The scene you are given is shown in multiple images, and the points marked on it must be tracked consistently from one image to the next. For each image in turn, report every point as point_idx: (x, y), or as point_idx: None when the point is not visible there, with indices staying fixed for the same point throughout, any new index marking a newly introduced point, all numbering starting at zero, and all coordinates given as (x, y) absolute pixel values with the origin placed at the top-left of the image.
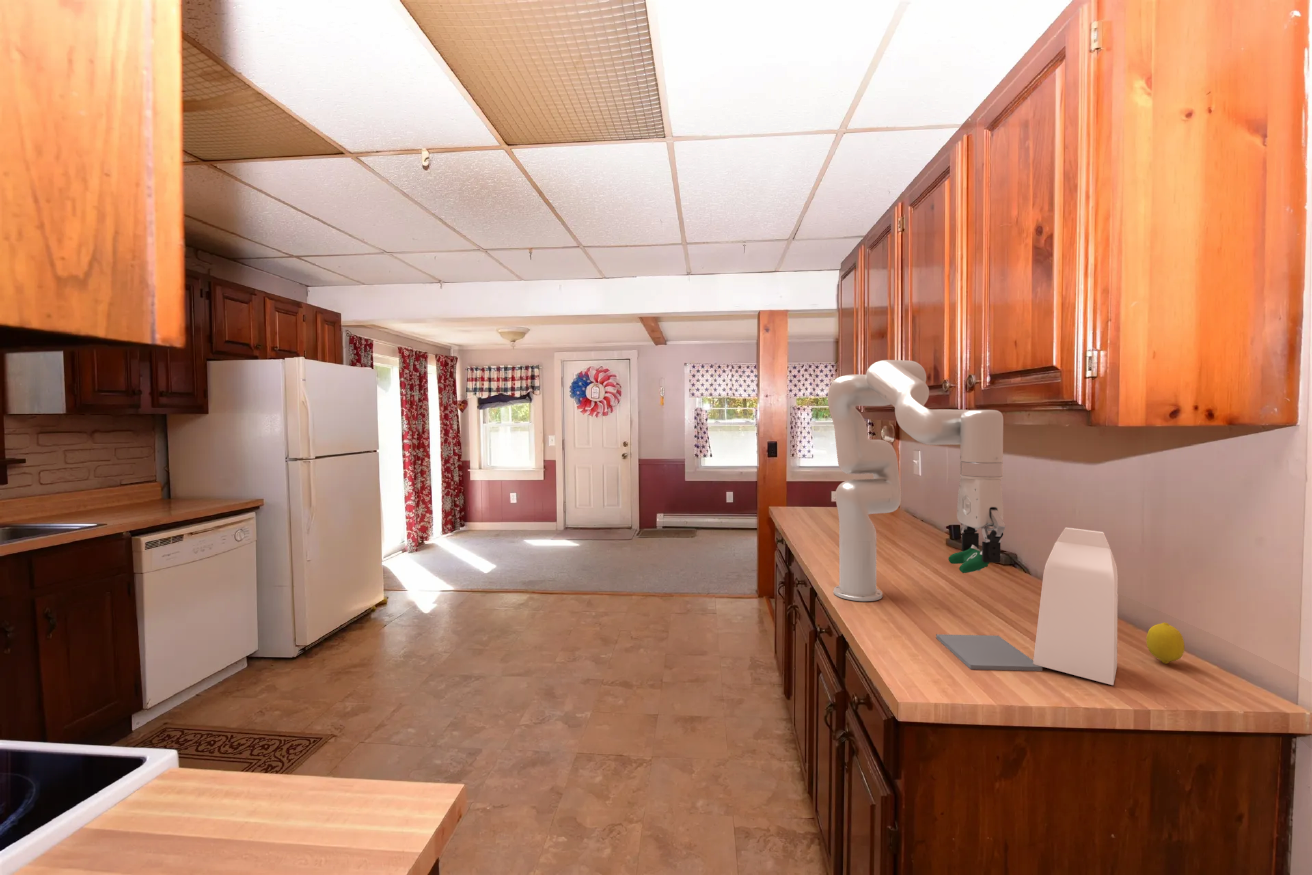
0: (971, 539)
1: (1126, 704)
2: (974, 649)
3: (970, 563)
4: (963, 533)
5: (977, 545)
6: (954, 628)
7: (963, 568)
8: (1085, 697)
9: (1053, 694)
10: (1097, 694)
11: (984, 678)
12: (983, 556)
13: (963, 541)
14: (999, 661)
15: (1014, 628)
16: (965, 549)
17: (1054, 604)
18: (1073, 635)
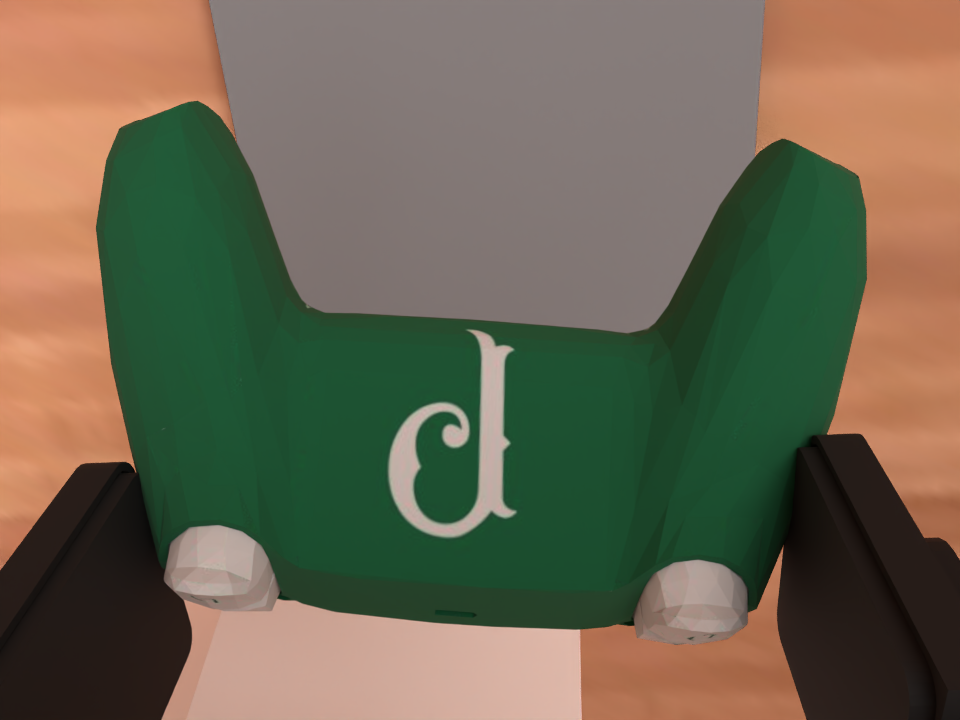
0: (853, 709)
1: (11, 515)
2: (484, 112)
3: (103, 279)
4: (939, 694)
5: (804, 696)
6: (951, 147)
7: (115, 147)
8: (23, 404)
9: (4, 288)
10: (76, 464)
11: (94, 13)
12: (49, 511)
13: (874, 557)
14: (309, 187)
15: (913, 496)
16: (802, 485)
17: (180, 675)
18: (184, 601)
